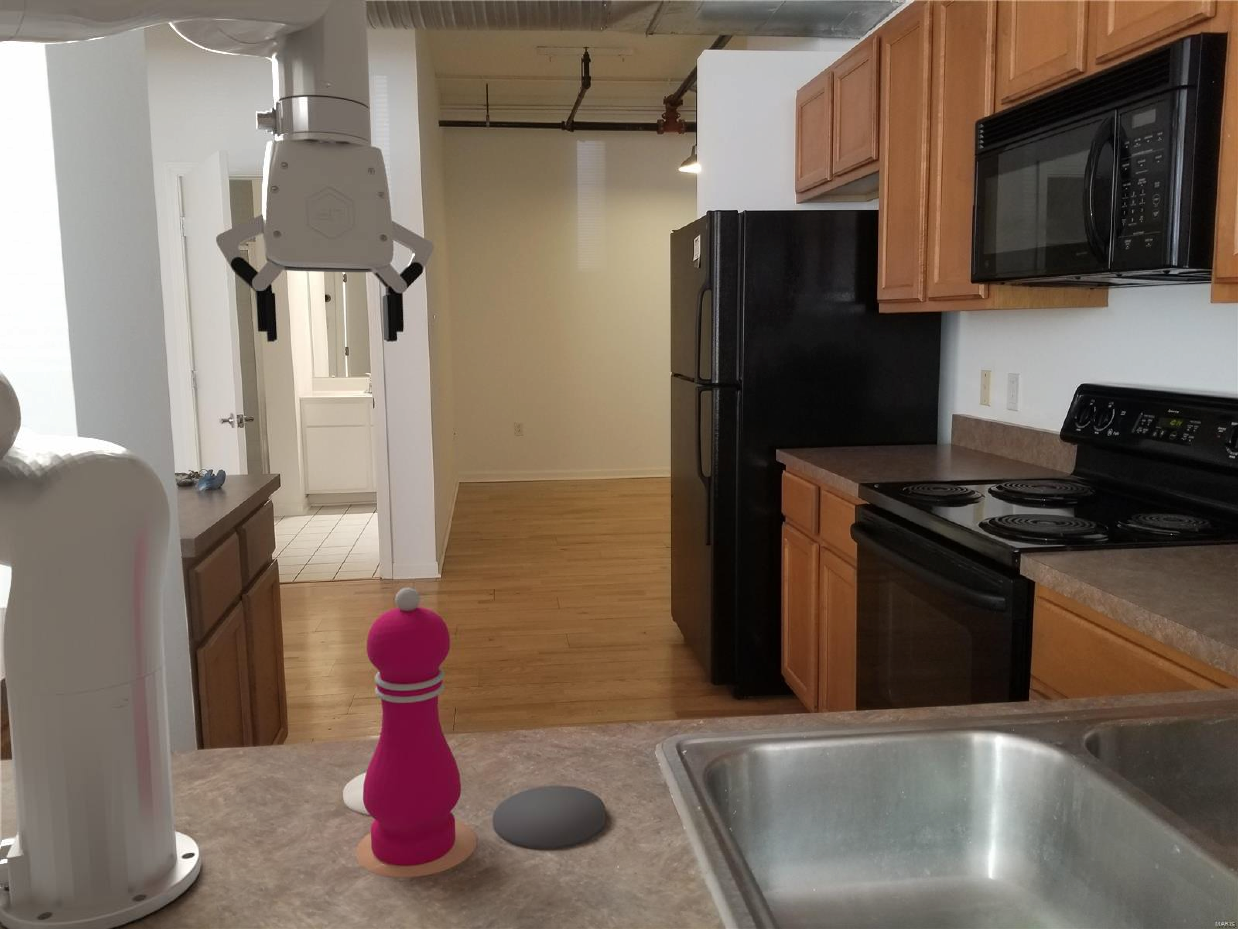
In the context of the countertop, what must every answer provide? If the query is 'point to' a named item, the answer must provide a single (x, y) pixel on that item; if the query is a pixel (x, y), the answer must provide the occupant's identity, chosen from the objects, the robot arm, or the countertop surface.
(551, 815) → the dark gray oval dome
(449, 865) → the peach oval dome
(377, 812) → the pepper mill
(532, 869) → the countertop surface
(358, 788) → the cream oval dome
